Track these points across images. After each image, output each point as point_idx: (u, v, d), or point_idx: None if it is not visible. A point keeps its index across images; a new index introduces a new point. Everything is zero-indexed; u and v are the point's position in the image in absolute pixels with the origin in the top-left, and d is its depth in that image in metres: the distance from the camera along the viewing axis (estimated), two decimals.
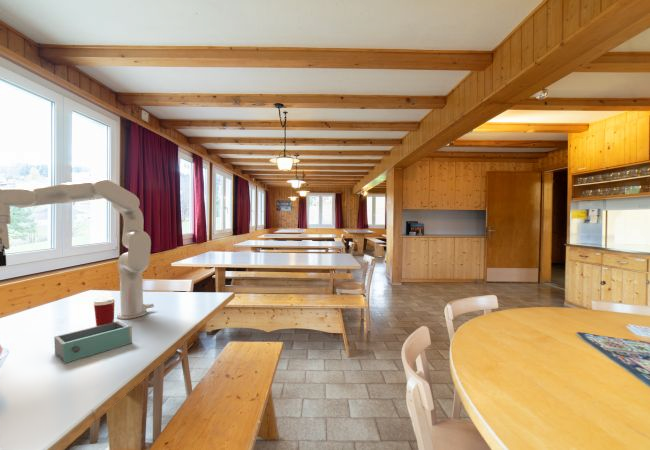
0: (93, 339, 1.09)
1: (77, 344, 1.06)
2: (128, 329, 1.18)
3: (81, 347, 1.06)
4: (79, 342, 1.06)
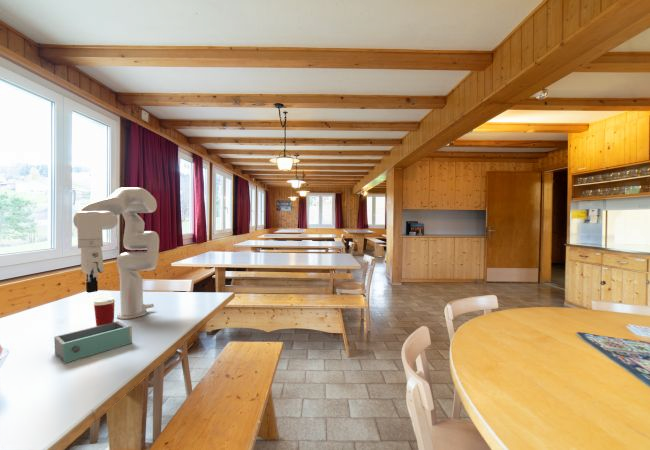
0: (93, 339, 1.09)
1: (77, 344, 1.06)
2: (128, 329, 1.18)
3: (81, 347, 1.06)
4: (79, 342, 1.06)
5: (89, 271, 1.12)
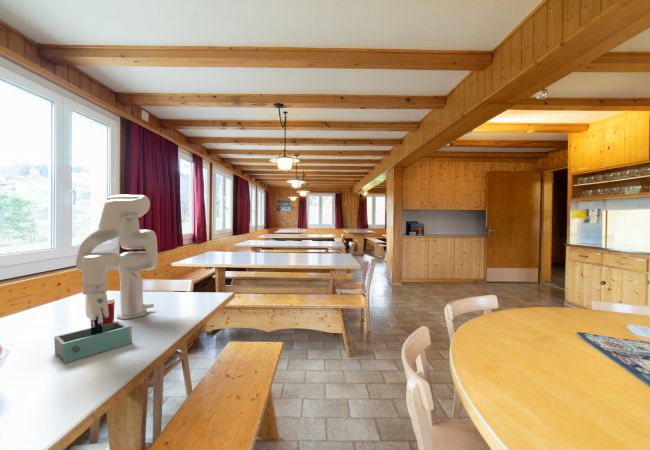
0: (93, 339, 1.09)
1: (77, 344, 1.06)
2: (128, 329, 1.18)
3: (81, 347, 1.06)
4: (79, 342, 1.06)
5: (94, 318, 1.11)
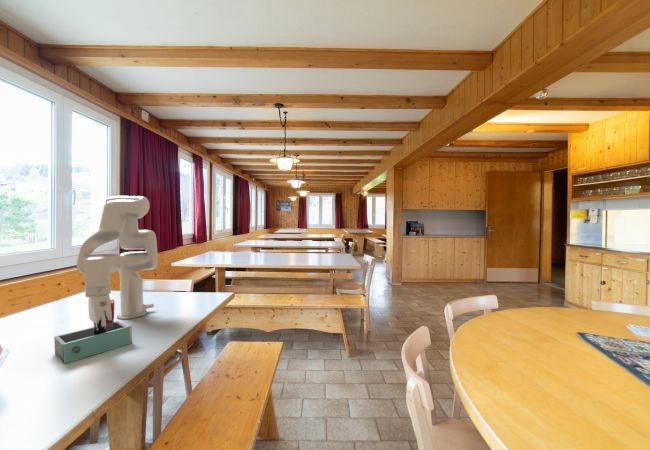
0: (94, 339, 1.09)
1: (78, 344, 1.05)
2: (128, 329, 1.18)
3: (82, 347, 1.06)
4: (80, 343, 1.06)
5: (97, 321, 1.08)
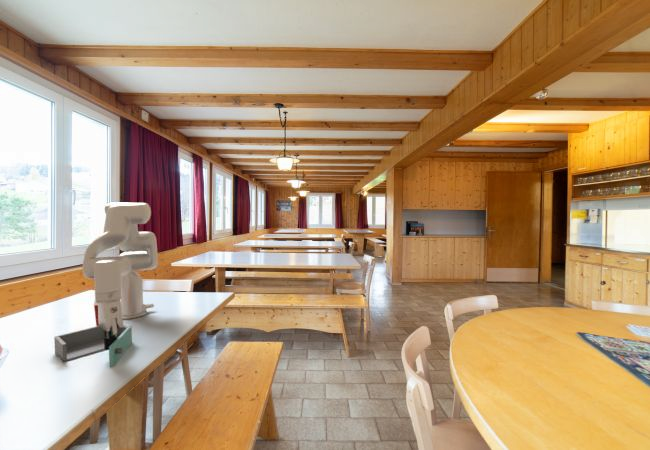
0: (121, 340, 1.08)
1: (116, 346, 1.03)
2: (130, 329, 1.18)
3: None
4: (117, 344, 1.04)
5: (108, 328, 1.02)
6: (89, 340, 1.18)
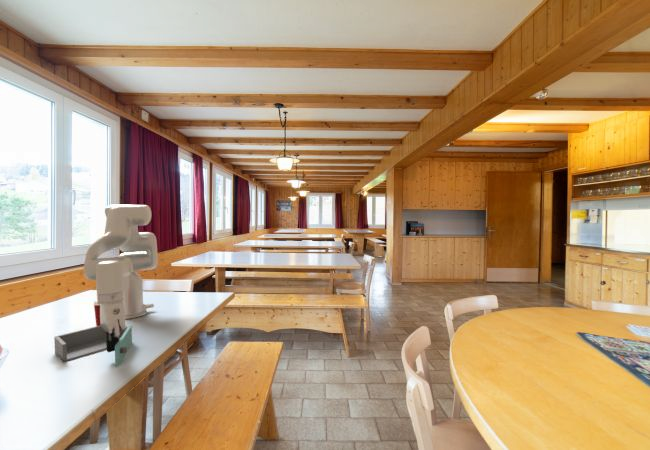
0: (124, 340, 1.08)
1: (121, 346, 1.04)
2: (131, 329, 1.18)
3: None
4: (121, 344, 1.04)
5: (110, 330, 1.00)
6: (89, 340, 1.18)
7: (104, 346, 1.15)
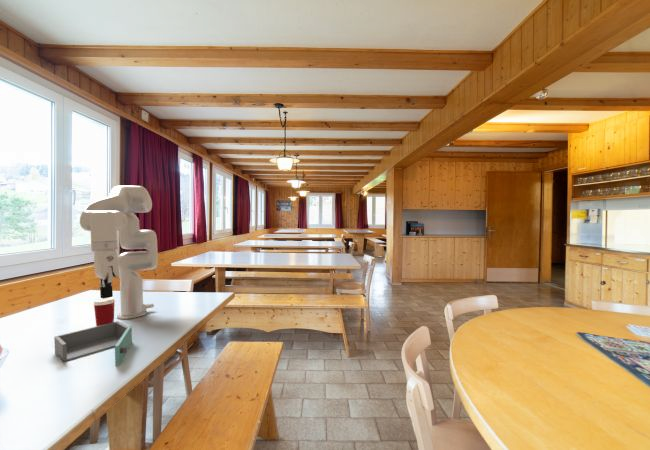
0: (124, 340, 1.08)
1: (121, 346, 1.04)
2: (131, 329, 1.18)
3: None
4: (121, 344, 1.04)
5: (104, 276, 1.05)
6: (89, 340, 1.18)
7: (104, 346, 1.15)
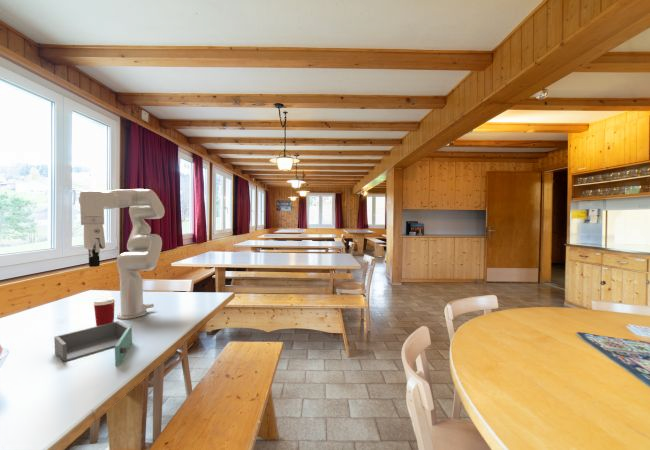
0: (124, 340, 1.08)
1: (121, 346, 1.04)
2: (131, 329, 1.18)
3: None
4: (121, 344, 1.04)
5: (91, 246, 1.20)
6: (89, 340, 1.18)
7: (104, 346, 1.15)
